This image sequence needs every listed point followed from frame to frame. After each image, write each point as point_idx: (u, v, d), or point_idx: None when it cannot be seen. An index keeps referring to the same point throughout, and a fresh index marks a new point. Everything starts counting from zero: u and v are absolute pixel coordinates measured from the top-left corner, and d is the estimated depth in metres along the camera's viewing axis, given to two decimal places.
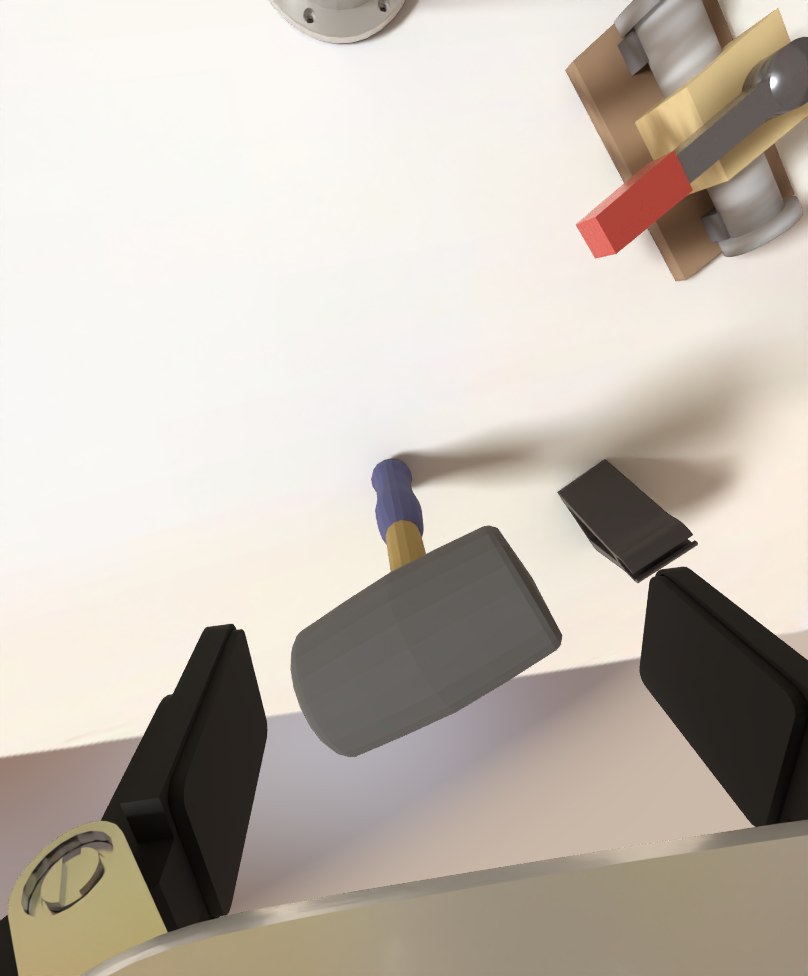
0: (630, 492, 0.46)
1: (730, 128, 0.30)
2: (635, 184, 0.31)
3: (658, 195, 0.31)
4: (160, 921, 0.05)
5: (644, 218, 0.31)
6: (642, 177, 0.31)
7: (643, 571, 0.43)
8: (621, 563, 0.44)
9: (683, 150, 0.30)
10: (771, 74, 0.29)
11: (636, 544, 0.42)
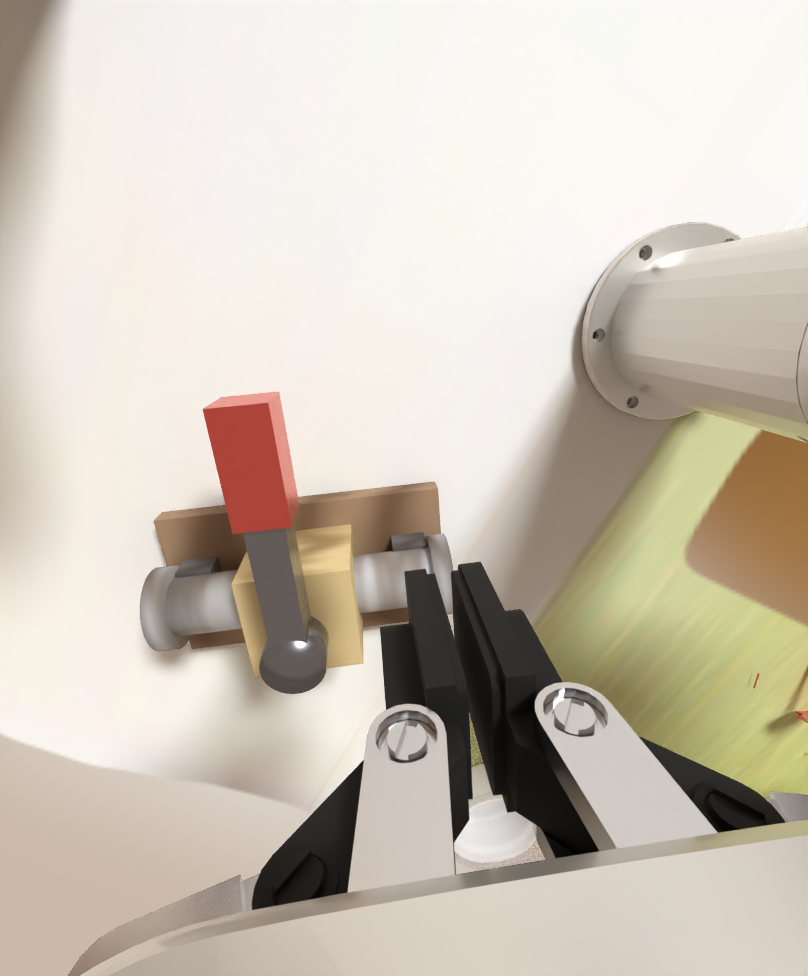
0: None
1: (279, 593, 0.24)
2: (279, 469, 0.22)
3: (249, 492, 0.22)
4: (450, 829, 0.06)
5: (230, 464, 0.21)
6: (282, 481, 0.22)
7: None
8: None
9: (285, 538, 0.23)
10: (307, 644, 0.26)
11: None
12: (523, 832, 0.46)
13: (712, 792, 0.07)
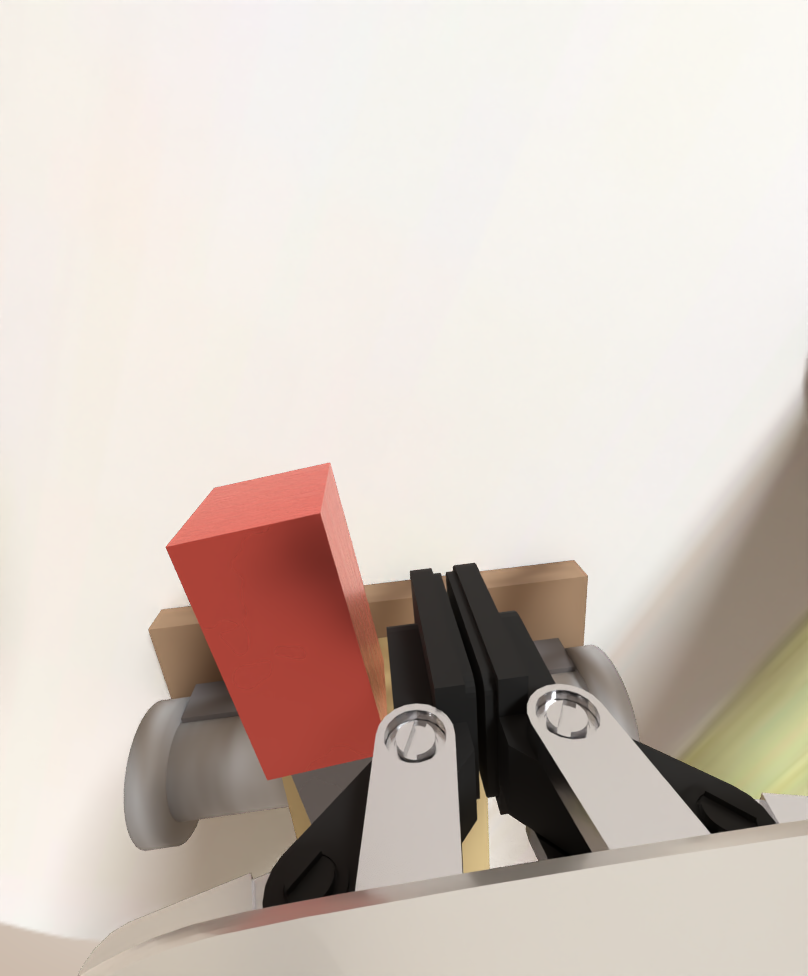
0: None
1: None
2: (356, 649, 0.10)
3: (295, 700, 0.10)
4: (458, 830, 0.06)
5: (246, 654, 0.09)
6: (364, 669, 0.10)
7: None
8: None
9: None
10: None
11: None
12: None
13: (704, 795, 0.07)
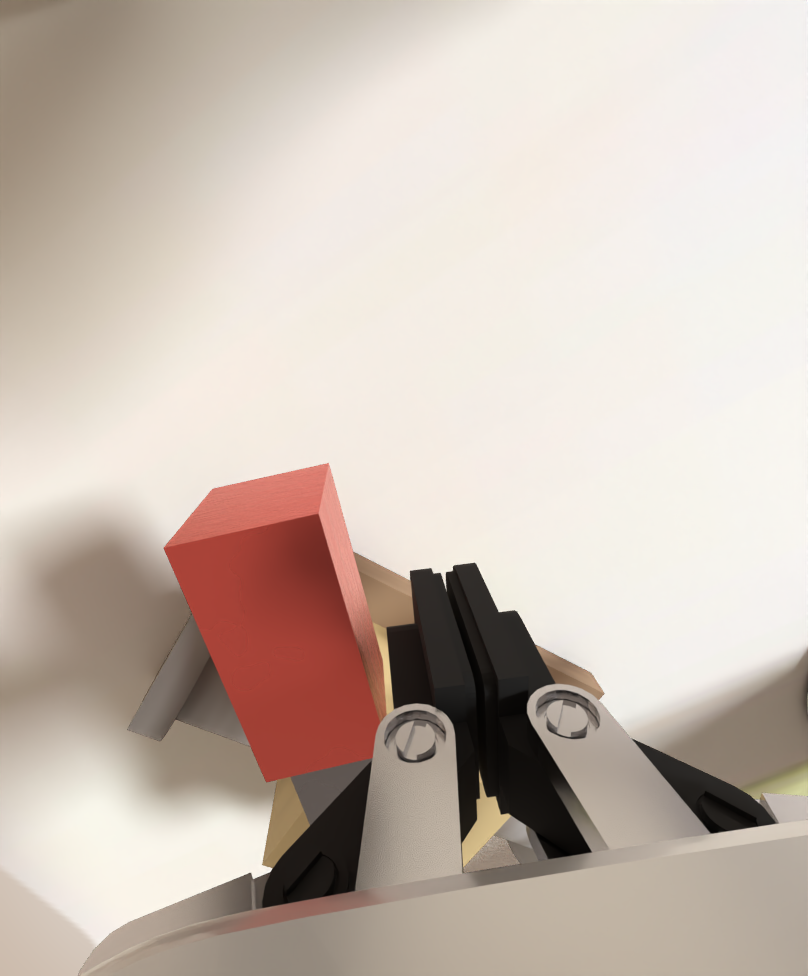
0: None
1: None
2: (354, 650, 0.10)
3: (293, 702, 0.10)
4: (458, 830, 0.06)
5: (244, 655, 0.09)
6: (363, 670, 0.10)
7: None
8: None
9: None
10: None
11: None
12: None
13: (704, 795, 0.07)
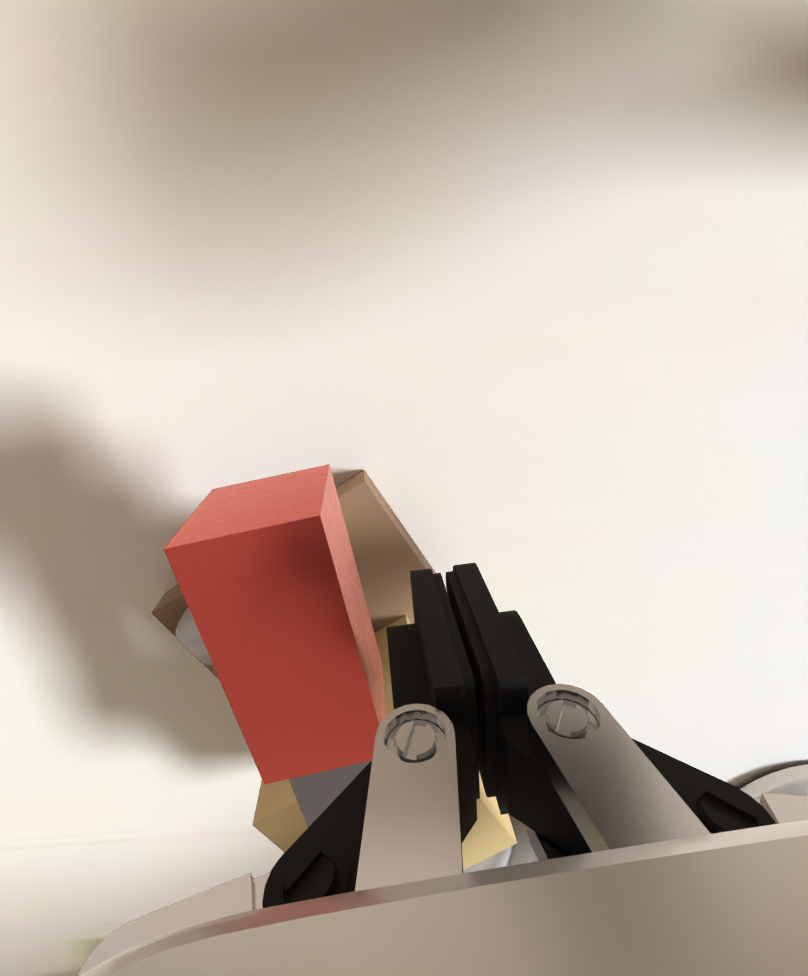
0: None
1: None
2: (355, 652, 0.09)
3: (293, 704, 0.10)
4: (458, 830, 0.06)
5: (244, 657, 0.09)
6: None
7: None
8: None
9: None
10: None
11: None
12: None
13: (704, 794, 0.07)
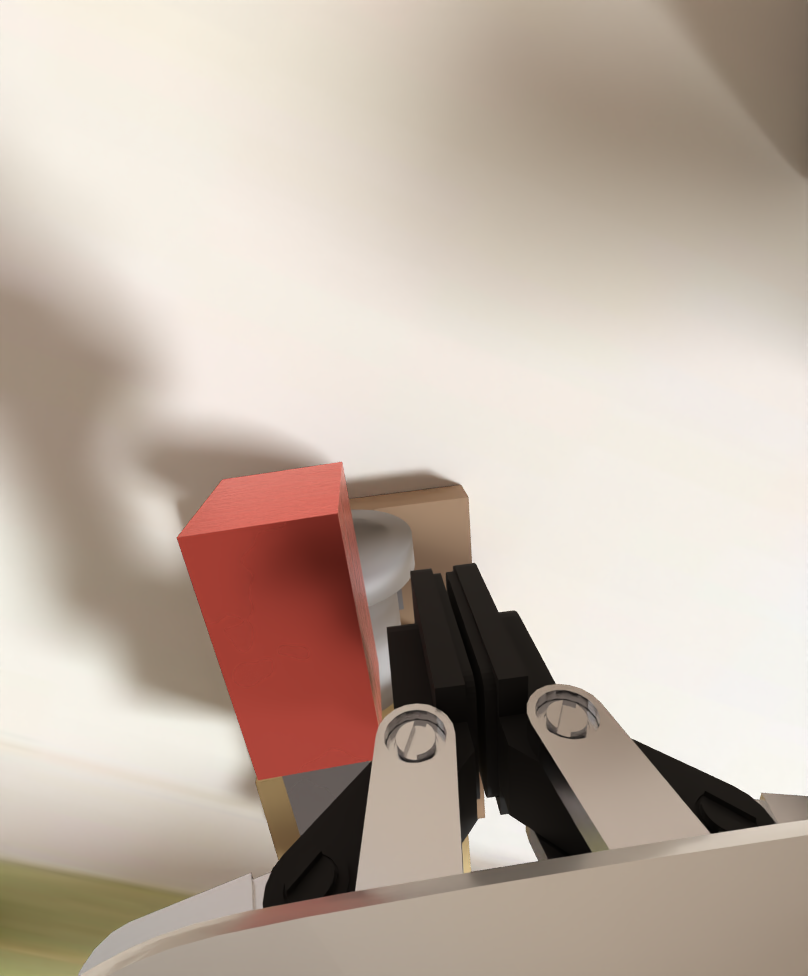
0: None
1: None
2: (360, 652, 0.09)
3: (294, 701, 0.10)
4: (459, 830, 0.06)
5: (249, 651, 0.09)
6: (366, 673, 0.10)
7: None
8: None
9: None
10: None
11: None
12: None
13: (704, 795, 0.07)
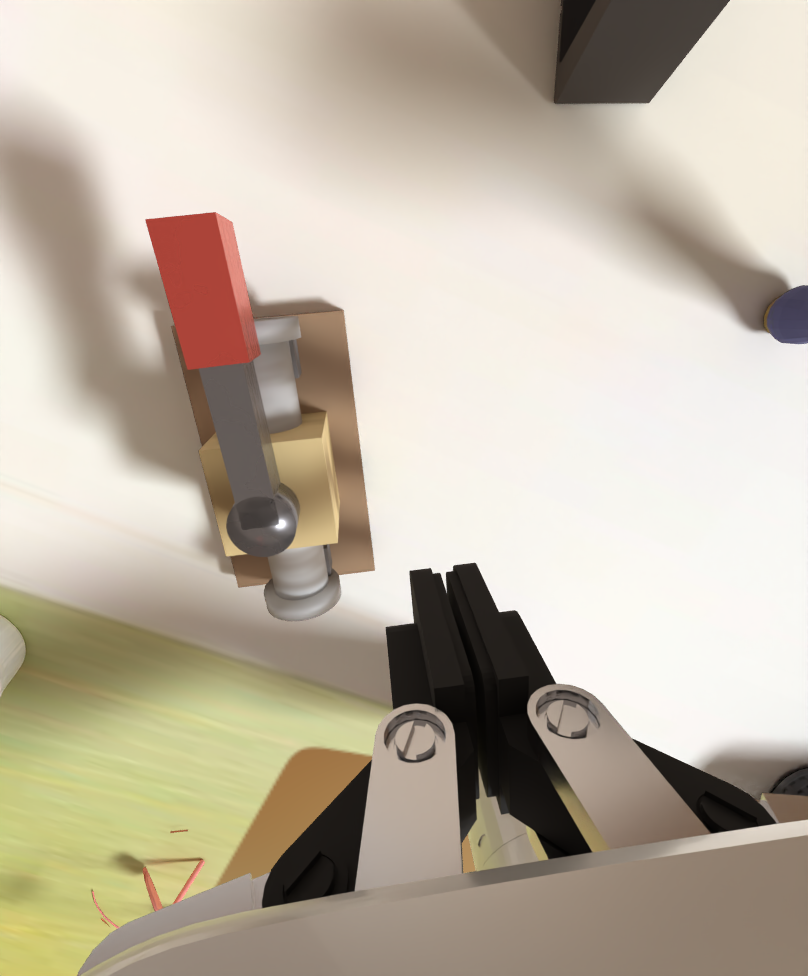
0: (613, 25, 0.24)
1: (241, 441, 0.23)
2: (232, 293, 0.20)
3: (202, 320, 0.21)
4: (458, 830, 0.06)
5: (179, 287, 0.20)
6: (236, 308, 0.21)
7: None
8: None
9: (244, 377, 0.22)
10: (275, 501, 0.25)
11: None
12: None
13: (704, 795, 0.07)
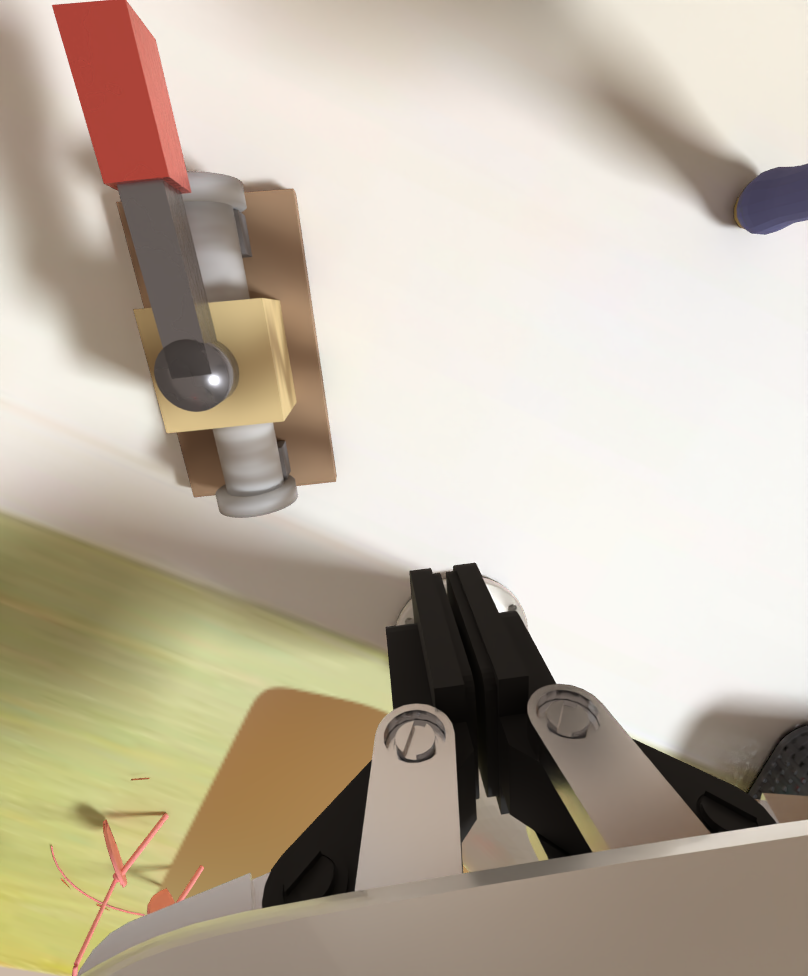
0: None
1: (166, 273, 0.22)
2: (147, 95, 0.20)
3: (117, 125, 0.20)
4: (457, 830, 0.06)
5: (91, 85, 0.19)
6: (153, 113, 0.20)
7: None
8: None
9: (166, 197, 0.21)
10: (205, 346, 0.24)
11: None
12: None
13: (704, 795, 0.07)
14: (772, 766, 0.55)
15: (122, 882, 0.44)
